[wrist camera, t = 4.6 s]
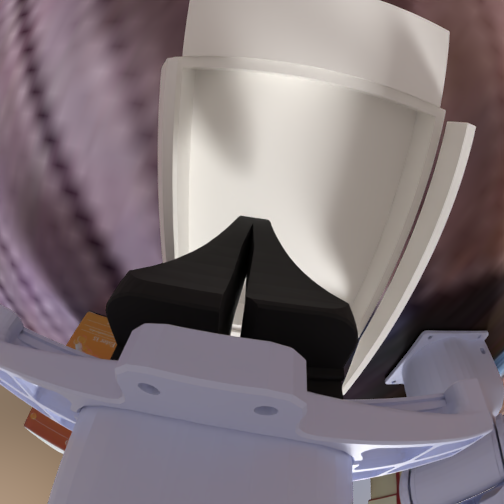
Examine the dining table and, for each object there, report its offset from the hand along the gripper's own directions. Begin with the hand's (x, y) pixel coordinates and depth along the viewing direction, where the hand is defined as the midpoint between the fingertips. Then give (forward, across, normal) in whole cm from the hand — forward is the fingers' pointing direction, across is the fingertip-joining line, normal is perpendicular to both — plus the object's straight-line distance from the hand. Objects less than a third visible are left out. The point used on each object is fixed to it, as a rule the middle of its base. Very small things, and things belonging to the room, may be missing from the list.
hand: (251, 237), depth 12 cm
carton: (+3, -2, 0) cm, 4 cm away
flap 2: (-1, -7, 0) cm, 7 cm away
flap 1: (-1, +3, 0) cm, 3 cm away
